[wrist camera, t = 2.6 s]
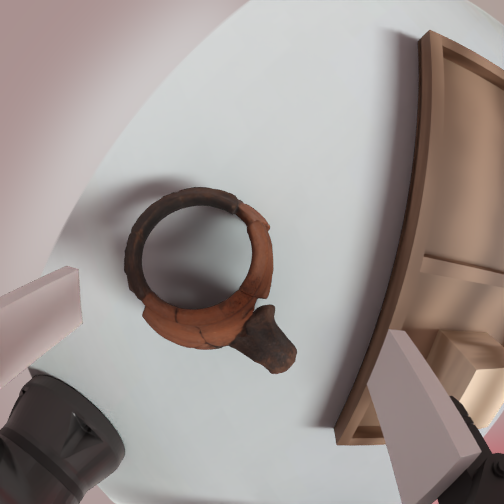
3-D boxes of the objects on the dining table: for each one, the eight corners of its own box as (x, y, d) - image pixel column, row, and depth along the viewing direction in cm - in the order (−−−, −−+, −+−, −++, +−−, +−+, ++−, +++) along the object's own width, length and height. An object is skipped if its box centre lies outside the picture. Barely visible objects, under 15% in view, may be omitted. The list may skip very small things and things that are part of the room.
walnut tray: (333, 428, 22) (336, 445, 20) (417, 41, 15) (429, 29, 12) (468, 420, 21) (475, 432, 19) (549, 120, 14) (563, 118, 11)
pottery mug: (133, 291, 22) (78, 263, 14) (213, 205, 24) (196, 142, 16) (251, 398, 19) (250, 431, 11) (332, 300, 21) (375, 275, 13)
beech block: (411, 390, 20) (436, 436, 14) (439, 329, 19) (476, 369, 13) (460, 388, 20) (487, 426, 14) (486, 332, 18) (523, 365, 12)
